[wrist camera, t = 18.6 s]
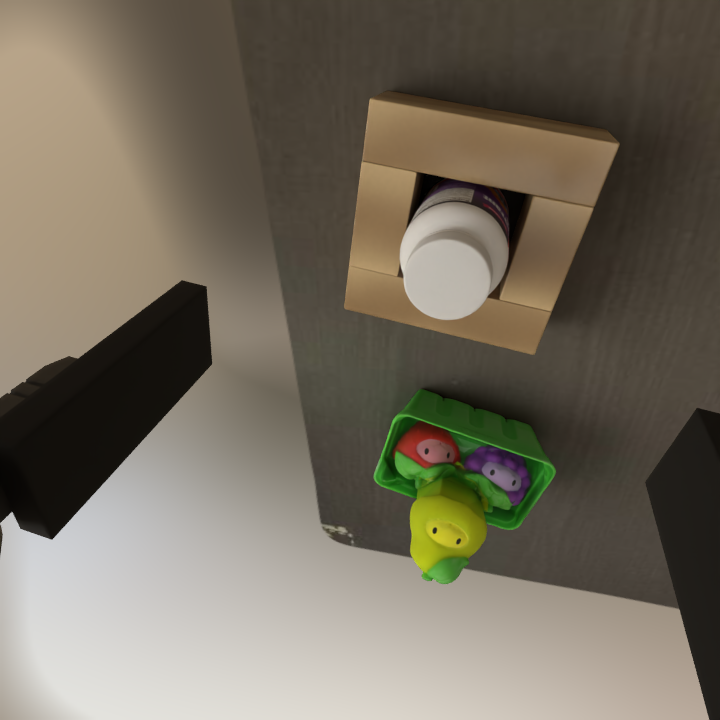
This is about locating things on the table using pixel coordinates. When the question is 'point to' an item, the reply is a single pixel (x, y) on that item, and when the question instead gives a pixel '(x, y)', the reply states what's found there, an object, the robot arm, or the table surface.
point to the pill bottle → (455, 248)
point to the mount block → (485, 167)
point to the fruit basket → (460, 477)
